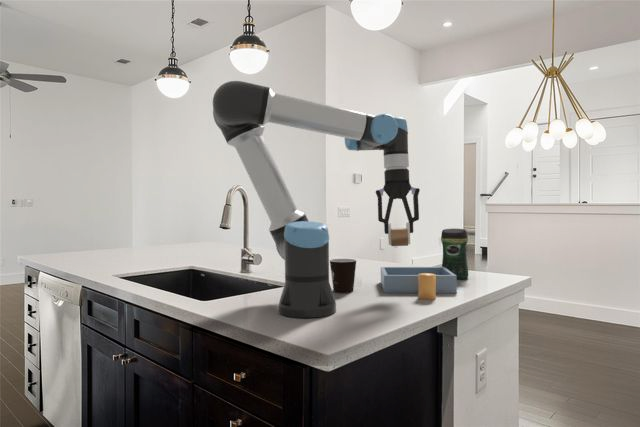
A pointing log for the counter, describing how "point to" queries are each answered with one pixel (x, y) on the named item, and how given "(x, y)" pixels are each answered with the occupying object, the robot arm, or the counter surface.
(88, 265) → the counter surface
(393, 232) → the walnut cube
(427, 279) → the orange cylinder
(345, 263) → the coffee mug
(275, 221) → the robot arm
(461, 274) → the coffee jar
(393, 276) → the tote
